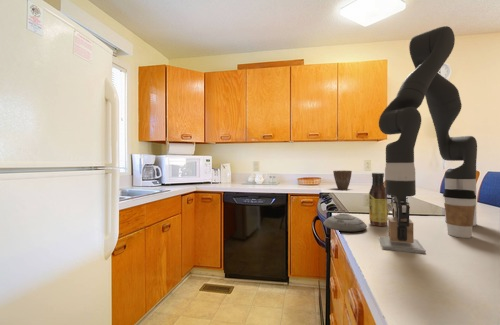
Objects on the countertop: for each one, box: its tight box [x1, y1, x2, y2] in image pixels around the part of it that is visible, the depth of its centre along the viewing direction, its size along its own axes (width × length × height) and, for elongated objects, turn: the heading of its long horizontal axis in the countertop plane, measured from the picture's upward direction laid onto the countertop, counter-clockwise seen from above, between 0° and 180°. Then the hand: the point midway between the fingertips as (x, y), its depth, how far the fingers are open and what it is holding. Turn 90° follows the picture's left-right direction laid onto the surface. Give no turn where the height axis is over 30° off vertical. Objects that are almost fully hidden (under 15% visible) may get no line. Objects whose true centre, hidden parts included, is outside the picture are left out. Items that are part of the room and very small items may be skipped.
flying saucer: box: [322, 213, 368, 232], centre depth 92 cm, size 15×15×6 cm
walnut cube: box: [387, 216, 415, 243], centre depth 72 cm, size 6×6×6 cm
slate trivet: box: [379, 235, 426, 255], centre depth 72 cm, size 10×10×1 cm
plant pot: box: [332, 170, 353, 191], centre depth 214 cm, size 15×15×16 cm
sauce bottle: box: [368, 172, 389, 227], centre depth 96 cm, size 7×6×20 cm
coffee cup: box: [442, 188, 477, 239], centre depth 81 cm, size 8×8×15 cm
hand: (400, 237), depth 72 cm, fingers closed on walnut cube, 5 cm apart
